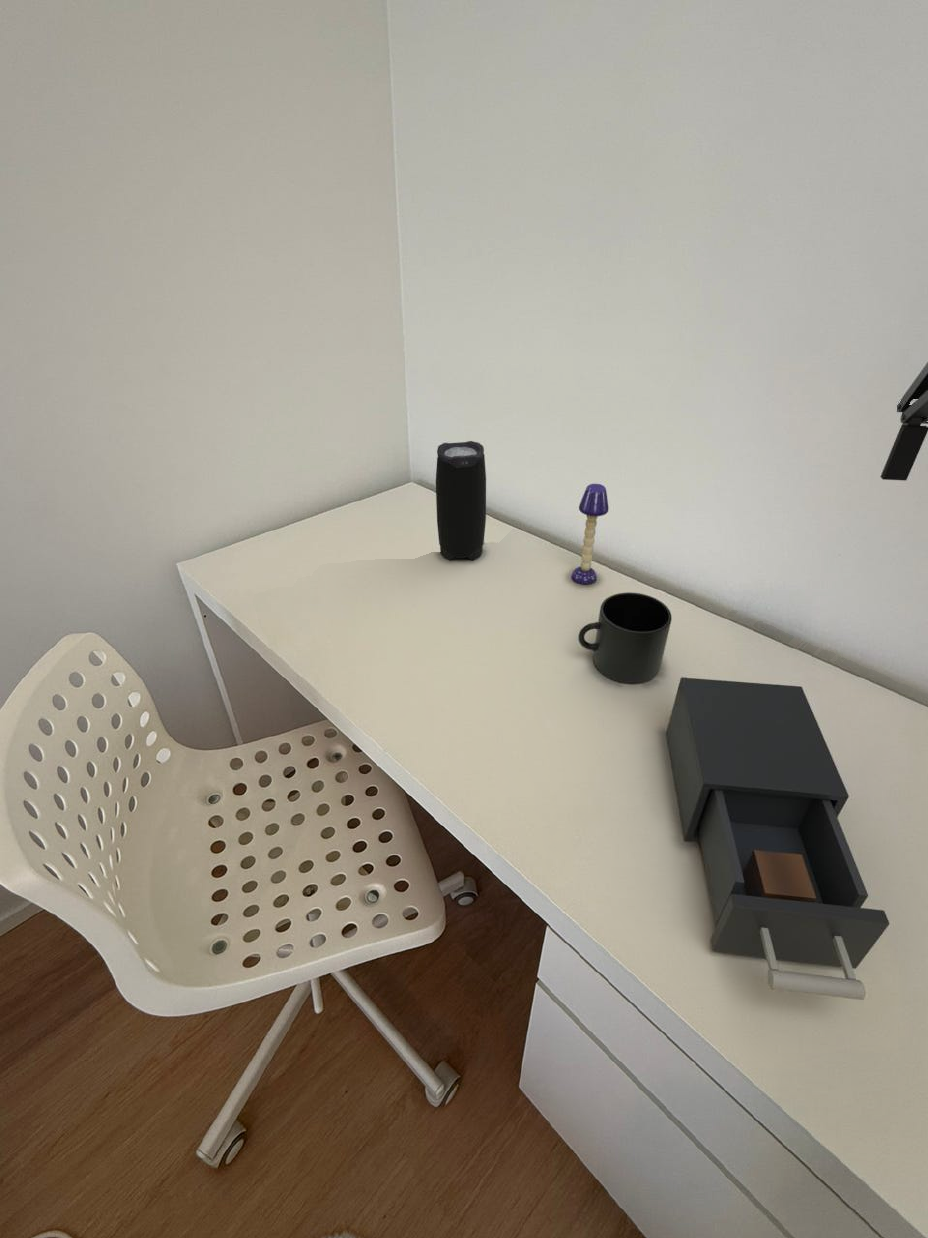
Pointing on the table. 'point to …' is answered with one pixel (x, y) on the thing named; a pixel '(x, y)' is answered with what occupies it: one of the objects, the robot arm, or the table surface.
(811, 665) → the table surface
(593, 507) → the toy lamp
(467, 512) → the portable speaker
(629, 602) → the mug
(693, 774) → the cabinet
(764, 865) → the block
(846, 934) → the drawer
